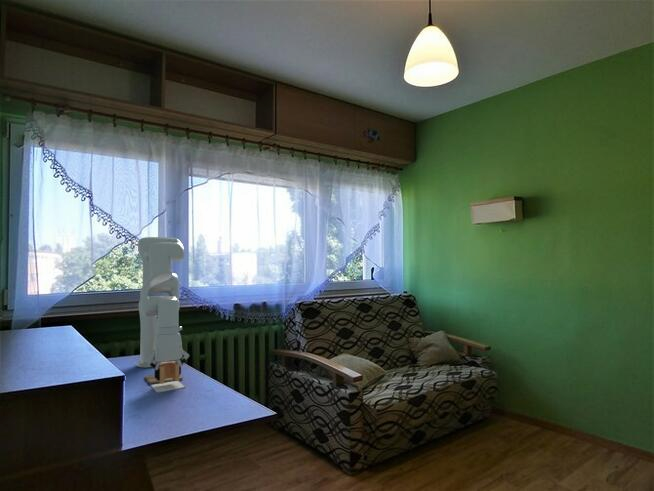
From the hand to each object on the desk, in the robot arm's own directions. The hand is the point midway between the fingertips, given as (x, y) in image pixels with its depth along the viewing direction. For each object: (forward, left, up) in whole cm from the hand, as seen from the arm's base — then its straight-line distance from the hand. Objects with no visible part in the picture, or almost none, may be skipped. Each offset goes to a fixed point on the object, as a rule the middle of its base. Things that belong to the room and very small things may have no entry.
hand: (167, 377), depth 158 cm
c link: (0, 0, -1) cm, 1 cm away
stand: (-12, +1, -3) cm, 13 cm away
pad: (0, 0, -3) cm, 3 cm away
